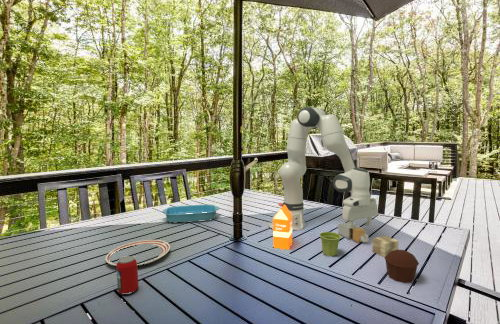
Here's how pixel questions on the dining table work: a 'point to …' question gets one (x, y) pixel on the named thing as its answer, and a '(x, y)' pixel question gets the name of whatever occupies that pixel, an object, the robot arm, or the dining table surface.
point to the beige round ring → (161, 244)
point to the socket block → (384, 245)
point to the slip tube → (358, 235)
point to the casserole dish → (180, 212)
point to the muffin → (401, 266)
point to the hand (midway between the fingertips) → (360, 226)
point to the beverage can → (127, 274)
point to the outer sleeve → (346, 230)
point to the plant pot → (330, 243)
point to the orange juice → (282, 229)
